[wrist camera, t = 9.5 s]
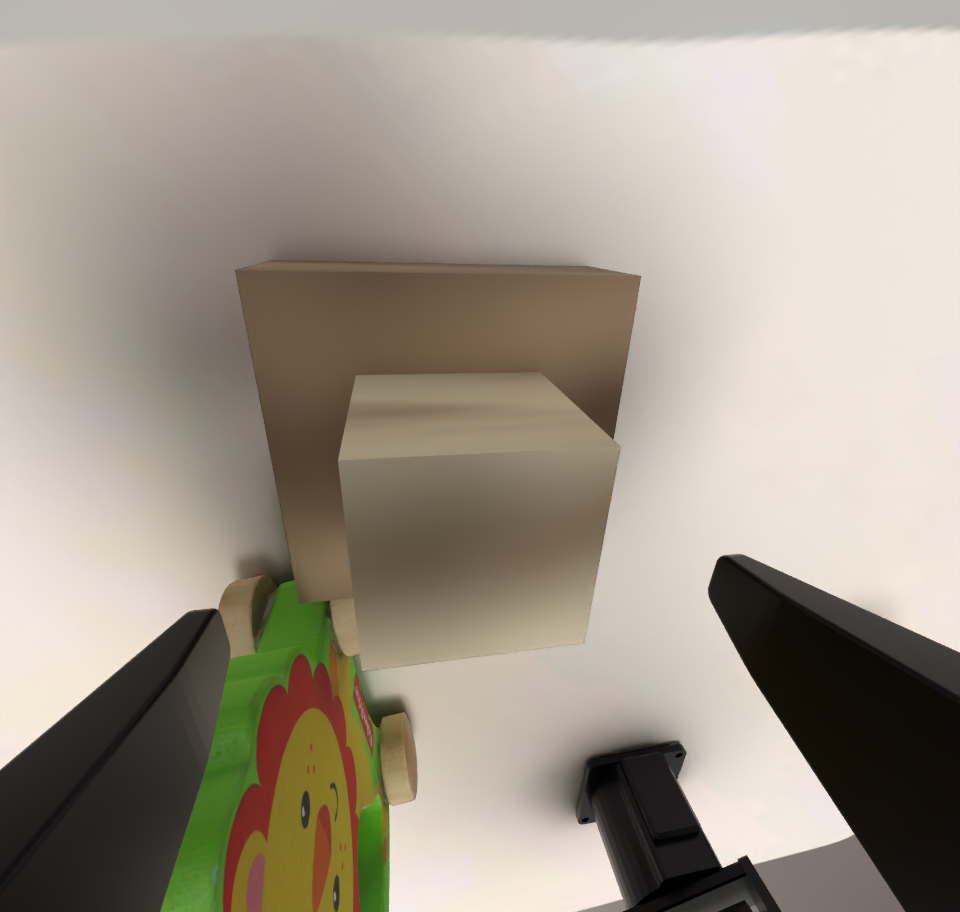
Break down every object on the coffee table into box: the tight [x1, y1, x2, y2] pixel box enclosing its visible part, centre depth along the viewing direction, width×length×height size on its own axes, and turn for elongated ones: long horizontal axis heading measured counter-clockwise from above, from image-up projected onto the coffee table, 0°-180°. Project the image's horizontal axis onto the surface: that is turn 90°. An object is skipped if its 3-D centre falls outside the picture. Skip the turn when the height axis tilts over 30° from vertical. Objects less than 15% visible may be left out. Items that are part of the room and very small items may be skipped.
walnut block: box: [235, 261, 641, 604], centre depth 15 cm, size 10×10×4 cm
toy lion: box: [160, 575, 417, 912], centre depth 14 cm, size 16×5×15 cm, turn 5°
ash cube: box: [338, 372, 620, 671], centre depth 11 cm, size 5×5×5 cm
